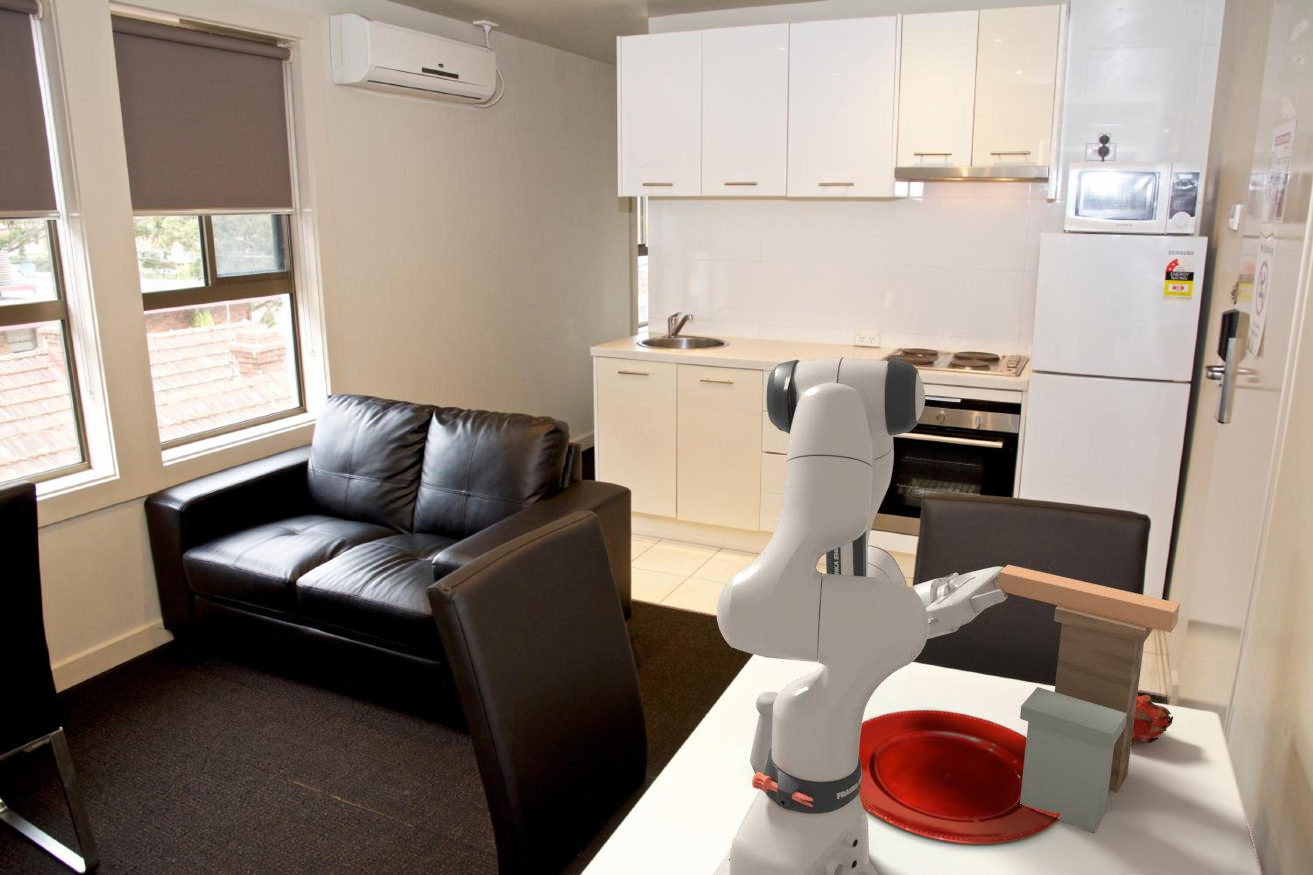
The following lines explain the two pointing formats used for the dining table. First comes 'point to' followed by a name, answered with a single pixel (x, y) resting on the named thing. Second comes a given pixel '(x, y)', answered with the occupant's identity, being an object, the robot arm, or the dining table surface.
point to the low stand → (1069, 756)
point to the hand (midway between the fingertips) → (1015, 584)
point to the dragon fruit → (1149, 720)
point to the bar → (1090, 598)
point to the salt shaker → (763, 731)
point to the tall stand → (1102, 670)
